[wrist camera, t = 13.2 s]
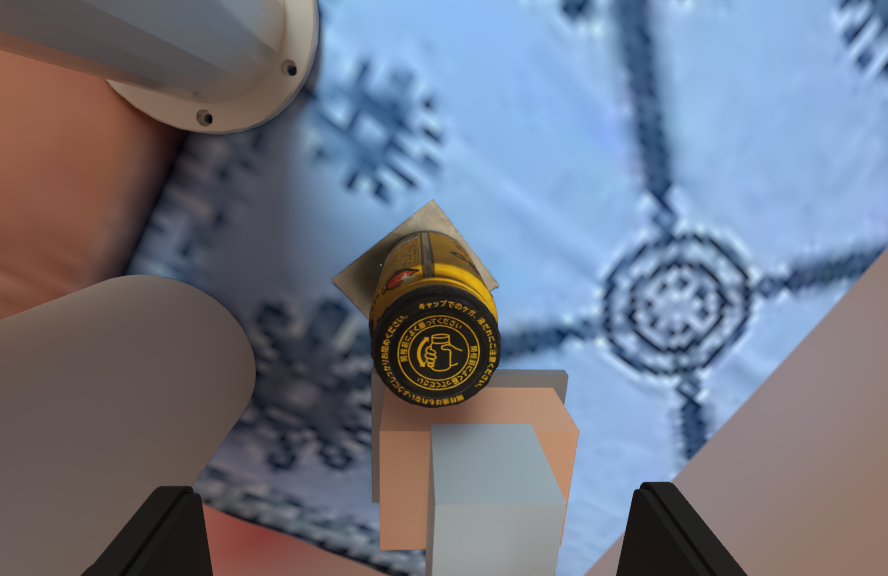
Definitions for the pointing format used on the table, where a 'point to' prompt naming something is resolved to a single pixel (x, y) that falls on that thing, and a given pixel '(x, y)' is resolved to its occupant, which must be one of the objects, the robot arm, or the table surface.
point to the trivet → (498, 379)
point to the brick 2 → (491, 502)
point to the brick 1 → (411, 424)
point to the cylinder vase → (109, 412)
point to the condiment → (427, 311)
